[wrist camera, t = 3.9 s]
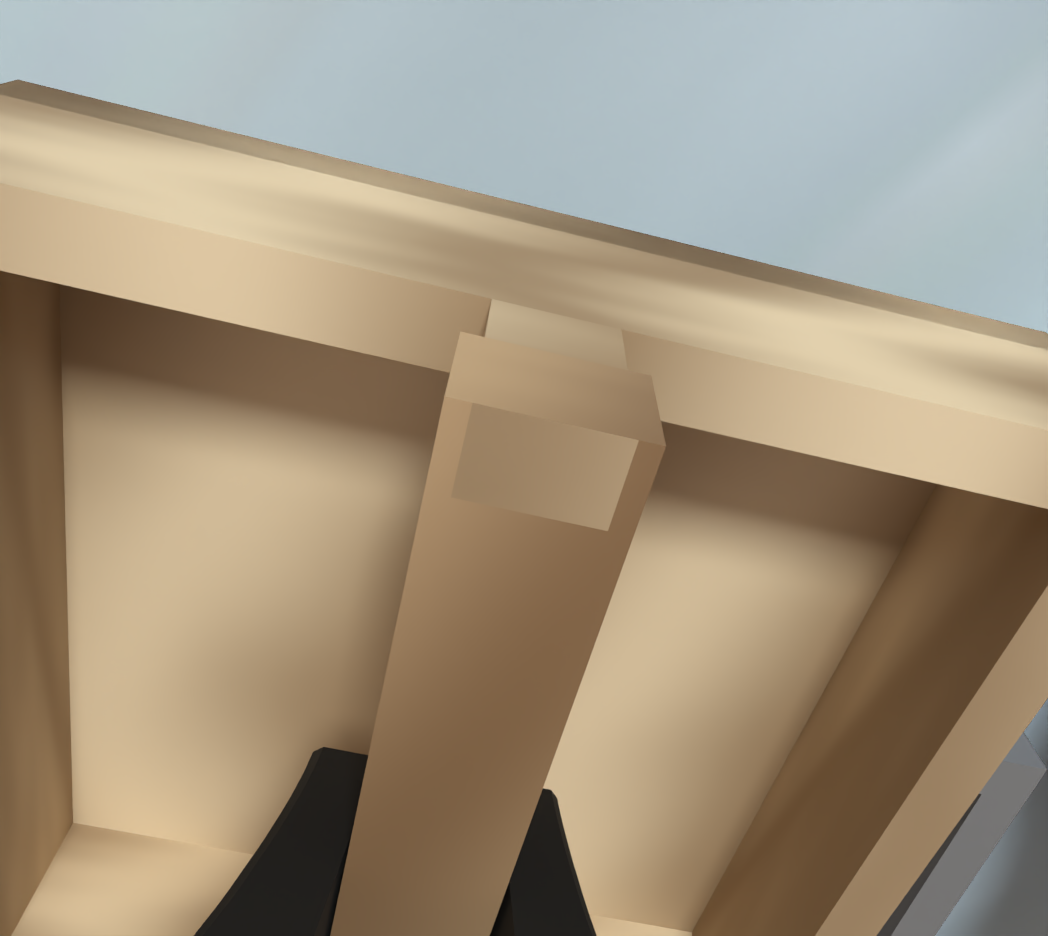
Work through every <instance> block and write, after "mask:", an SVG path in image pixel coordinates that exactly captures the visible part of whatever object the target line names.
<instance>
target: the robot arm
mask: <svg viewBox="0 0 1048 936" xmlns="http://www.w3.org/2000/svg"><path fill="white" fill-rule="evenodd" d="M367 759H368V755H365V754H359V753H354V752H349V751H343V750H338V749H333V748H328V747H322V748H320V749H318V750H316V751H314V752H313V753H312V755H311V757H310V760H309V762H308V764H307V766H306V769H305V771H304V773H303V775H302V776H301V778H300V780H299V782H298V784H297V786H296V788H295V790H294V791H293V793H292V795H291V797H290V798H289V800H288V802H287V804H286V805H285V807H284V809H283V810H282V812H281V814H280V815H279V817H278V818H277V820H276V821H275V823H274V825H273V826H272V828H271V829H270V831H269V832H268V834H267V836H266V837H265V839H264V840H263V842H262V843H261V845H260V846H259V848H258V849H257V850H256V852H255V853H254V855H253V856H252V858H251V859H250V860H249V862H248V863H247V865H246V866H245V868H244V869H243V870H242V872H241V873H240V875H239V876H238V877H237V879H236V880H235V882H234V883H233V885H232V886H231V887H230V889H229V890H228V892H227V893H226V894H225V896H224V897H223V899H222V900H221V901H220V903H219V904H218V905H217V907H216V908H215V909H214V910H213V912H212V913H211V914H210V915H209V917H208V918H207V919H206V921H205V922H204V923H203V924H202V926H201V927H200V928H199V929H198V931H197V932H196V933H195V935H194V936H330V934H331V930H332V925H333V920H334V915H335V911H336V906H337V901H338V897H339V892H340V887H341V882H342V878H343V873H344V868H345V863H346V859H347V854H348V849H349V845H350V840H351V835H352V830H353V826H354V821H355V816H356V811H357V807H358V802H359V797H360V793H361V788H362V783H363V778H364V774H365V769H366V764H367ZM490 936H597V935H596V932H595V929H594V927H593V924H592V921H591V918H590V915H589V912H588V909H587V906H586V903H585V900H584V897H583V893H582V890H581V887H580V884H579V880H578V877H577V874H576V870H575V867H574V864H573V860H572V857H571V853H570V849H569V846H568V842H567V838H566V834H565V830H564V826H563V822H562V818H561V814H560V809H559V805H558V800H557V797H556V796H555V794H554V793H553V792H552V790H550V789H544V788H543V789H542V792H541V795H540V797H539V800H538V803H537V806H536V809H535V811H534V814H533V817H532V820H531V822H530V825H529V828H528V831H527V834H526V836H525V839H524V842H523V845H522V847H521V850H520V853H519V856H518V858H517V861H516V864H515V867H514V870H513V872H512V875H511V878H510V881H509V883H508V886H507V889H506V892H505V895H504V897H503V900H502V903H501V906H500V908H499V911H498V914H497V917H496V920H495V922H494V925H493V928H492V931H491V933H490Z"/></svg>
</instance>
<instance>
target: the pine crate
mask: <svg viewBox="0 0 1048 936" xmlns="http://www.w3.org/2000/svg"><path fill="white" fill-rule="evenodd" d="M1047 699H1048V334H1047V333H1046V332H1042V331H1038V330H1034V329H1030V328H1025V327H1021V326H1017V325H1013V324H1009V323H1005V322H1001V321H997V320H993V319H989V318H985V317H981V316H977V315H973V314H969V313H964V312H960V311H956V310H952V309H948V308H944V307H940V306H936V305H932V304H928V303H924V302H920V301H916V300H912V299H908V298H903V297H899V296H895V295H891V294H887V293H883V292H879V291H875V290H871V289H867V288H863V287H859V286H855V285H851V284H847V283H842V282H838V281H834V280H830V279H826V278H822V277H818V276H814V275H810V274H806V273H802V272H798V271H794V270H790V269H786V268H782V267H777V266H773V265H769V264H765V263H761V262H757V261H753V260H749V259H745V258H741V257H737V256H733V255H729V254H725V253H721V252H716V251H712V250H708V249H704V248H700V247H696V246H692V245H688V244H684V243H680V242H676V241H672V240H668V239H664V238H660V237H655V236H651V235H647V234H643V233H639V232H635V231H631V230H627V229H623V228H619V227H615V226H611V225H607V224H603V223H599V222H594V221H590V220H586V219H582V218H578V217H574V216H570V215H566V214H562V213H558V212H554V211H550V210H546V209H542V208H538V207H533V206H529V205H525V204H521V203H517V202H513V201H509V200H505V199H501V198H497V197H493V196H489V195H485V194H481V193H477V192H472V191H468V190H464V189H460V188H456V187H452V186H448V185H444V184H440V183H436V182H432V181H428V180H424V179H420V178H416V177H411V176H407V175H403V174H399V173H395V172H391V171H387V170H383V169H379V168H375V167H371V166H367V165H363V164H359V163H355V162H350V161H346V160H342V159H338V158H334V157H330V156H326V155H322V154H318V153H314V152H310V151H306V150H302V149H298V148H294V147H289V146H285V145H281V144H277V143H273V142H269V141H265V140H261V139H257V138H253V137H249V136H245V135H241V134H237V133H233V132H228V131H224V130H220V129H216V128H212V127H208V126H204V125H200V124H196V123H192V122H188V121H184V120H180V119H176V118H172V117H168V116H163V115H159V114H155V113H151V112H147V111H143V110H139V109H135V108H131V107H127V106H123V105H119V104H115V103H111V102H107V101H102V100H98V99H94V98H90V97H86V96H82V95H78V94H74V93H70V92H66V91H62V90H58V89H54V88H50V87H46V86H41V85H37V84H33V83H29V82H25V81H21V80H14V81H11V82H7V83H3V84H0V936H194V935H195V933H196V932H197V931H198V929H199V928H200V927H201V926H202V924H203V923H204V922H205V921H206V919H207V918H208V917H209V915H210V914H211V913H212V912H213V910H214V909H215V908H216V907H217V905H218V904H219V903H220V901H221V900H222V899H223V897H224V896H225V894H226V893H227V892H228V890H229V889H230V887H231V886H232V885H233V883H234V882H235V880H236V879H237V877H238V876H239V875H240V873H241V872H242V870H243V869H244V868H245V866H246V865H247V863H248V862H249V860H250V859H251V858H252V856H253V855H254V853H255V852H256V850H257V849H258V848H259V846H260V845H261V843H262V842H263V840H264V839H265V837H266V836H267V834H268V832H269V831H270V829H271V828H272V826H273V825H274V823H275V821H276V820H277V818H278V817H279V815H280V814H281V812H282V810H283V809H284V807H285V805H286V804H287V802H288V800H289V798H290V797H291V795H292V793H293V791H294V790H295V788H296V786H297V784H298V782H299V780H300V778H301V776H302V775H303V773H304V771H305V769H306V766H307V764H308V762H309V760H310V757H311V755H312V753H313V752H314V751H316V750H318V749H320V748H322V747H328V748H333V749H338V750H343V751H349V752H354V753H359V754H365V755H368V759H367V764H366V769H365V774H364V778H363V783H362V788H361V793H360V797H359V802H358V807H357V811H356V816H355V821H354V826H353V830H352V835H351V840H350V845H349V849H348V854H347V859H346V863H345V868H344V873H343V878H342V882H341V887H340V892H339V897H338V901H337V906H336V911H335V915H334V920H333V925H332V930H331V934H330V936H490V933H491V931H492V928H493V925H494V922H495V920H496V917H497V914H498V911H499V908H500V906H501V903H502V900H503V897H504V895H505V892H506V889H507V886H508V883H509V881H510V878H511V875H512V872H513V870H514V867H515V864H516V861H517V858H518V856H519V853H520V850H521V847H522V845H523V842H524V839H525V836H526V834H527V831H528V828H529V825H530V822H531V820H532V817H533V814H534V811H535V809H536V806H537V803H538V800H539V797H540V795H541V792H542V789H543V788H544V789H550V790H552V792H553V793H554V794H555V796H556V797H557V800H558V805H559V809H560V814H561V818H562V822H563V826H564V830H565V834H566V838H567V842H568V846H569V849H570V853H571V857H572V860H573V864H574V867H575V870H576V874H577V877H578V880H579V884H580V887H581V890H582V893H583V897H584V900H585V903H586V906H587V909H588V912H589V915H590V918H591V921H592V924H593V927H594V929H595V932H596V935H597V936H877V934H878V933H879V931H880V930H881V929H882V927H883V926H884V924H885V923H886V922H887V920H888V919H889V918H890V916H891V915H892V913H893V912H894V911H895V909H896V908H897V906H898V905H899V904H900V902H901V901H902V900H903V898H904V897H905V895H906V894H907V893H908V891H909V890H910V888H911V887H912V886H913V884H914V883H915V882H916V880H917V879H918V877H919V876H920V875H921V873H922V872H923V870H924V869H925V868H926V866H927V865H928V863H929V862H930V861H931V859H932V858H933V857H934V855H935V854H936V852H937V851H938V850H939V848H940V847H941V845H942V844H943V843H944V841H945V840H946V839H947V837H948V836H949V834H950V833H951V832H952V830H953V829H954V827H955V826H956V825H957V823H958V822H959V821H960V819H961V818H962V816H963V815H964V814H965V812H966V811H967V809H968V808H969V807H970V805H971V804H972V803H973V801H974V800H975V798H976V797H977V796H978V794H979V793H980V791H981V790H982V789H983V787H984V786H985V785H986V783H987V782H988V780H989V779H990V778H991V776H992V775H993V773H994V772H995V771H996V769H997V768H998V766H999V765H1000V764H1001V762H1002V761H1003V760H1004V758H1005V757H1006V755H1007V754H1008V753H1009V751H1010V750H1011V748H1012V747H1013V746H1014V744H1015V743H1016V742H1017V740H1018V739H1019V737H1020V736H1021V735H1022V733H1023V732H1024V730H1025V729H1026V728H1027V726H1028V725H1029V724H1030V722H1031V721H1032V719H1033V718H1034V717H1035V715H1036V714H1037V712H1038V711H1039V710H1040V708H1041V707H1042V706H1043V704H1044V703H1045V701H1046V700H1047Z"/></svg>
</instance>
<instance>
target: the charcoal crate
mask: <svg viewBox="0 0 1048 936" xmlns="http://www.w3.org/2000/svg"><path fill="white" fill-rule="evenodd" d="M1046 771H1047V768H1046V767H1045V765H1044V763H1043V762H1042V760H1041V759H1040V757H1039V756H1038V754H1037V752H1036V751H1035V749H1034V748H1033V746H1032V745H1031V743H1030V741H1029V740H1028V738H1027V737H1026V735H1025V734H1024V732H1023V733H1022V735H1021V736H1020V737H1019V739H1018V740H1017V742H1016V743H1015V744H1014V746H1013V747H1012V748H1011V750H1010V751H1009V753H1008V754H1007V755H1006V757H1005V758H1004V760H1003V761H1002V762H1001V764H1000V765H999V766H998V768H997V769H996V771H995V772H994V773H993V775H992V776H991V778H990V779H989V780H988V782H987V783H986V785H985V786H984V787H983V789H982V790H981V791H980V793H979V794H978V796H977V797H976V798H975V800H974V801H973V803H972V804H971V805H970V807H969V808H968V809H967V811H966V812H965V814H964V815H963V816H962V818H961V819H960V821H959V822H958V823H957V825H956V826H955V827H954V829H953V830H952V832H951V833H950V834H949V836H948V837H947V839H946V840H945V841H944V843H943V844H942V845H941V847H940V848H939V850H938V851H937V852H936V854H935V855H934V857H933V858H932V859H931V861H930V862H929V863H928V865H927V866H926V868H925V869H924V870H923V872H922V873H921V875H920V876H919V877H918V879H917V880H916V882H915V883H914V884H913V886H912V887H911V888H910V890H909V891H908V893H907V894H906V895H905V897H904V898H903V900H902V901H901V902H900V904H899V905H898V906H897V908H896V909H895V911H894V912H893V913H892V915H891V916H890V918H889V919H888V920H887V922H886V923H885V924H884V926H883V927H882V929H881V930H880V931H879V933H878V934H877V936H935V935H936V933H937V932H938V930H939V929H940V927H941V926H942V924H943V923H944V921H945V920H946V918H947V917H948V915H949V914H950V912H951V911H952V910H953V908H954V907H955V905H956V904H957V902H958V901H959V899H960V898H961V896H962V895H963V893H964V892H965V890H966V889H967V887H968V886H969V884H970V883H971V881H972V880H973V879H974V877H975V876H976V874H977V873H978V871H979V870H980V868H981V867H982V865H983V864H984V862H985V861H986V859H987V858H988V856H989V855H990V853H991V852H992V850H993V849H994V848H995V846H996V845H997V843H998V842H999V840H1000V839H1001V837H1002V836H1003V834H1004V833H1005V831H1006V830H1007V828H1008V827H1009V825H1010V824H1011V822H1012V821H1013V819H1014V818H1015V817H1016V815H1017V814H1018V812H1019V811H1020V809H1021V808H1022V806H1023V805H1024V803H1025V802H1026V800H1027V799H1028V797H1029V796H1030V794H1031V793H1032V791H1033V790H1034V788H1035V787H1036V785H1037V784H1038V783H1039V781H1040V780H1041V778H1042V777H1043V775H1044V774H1045V772H1046Z"/></svg>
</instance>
